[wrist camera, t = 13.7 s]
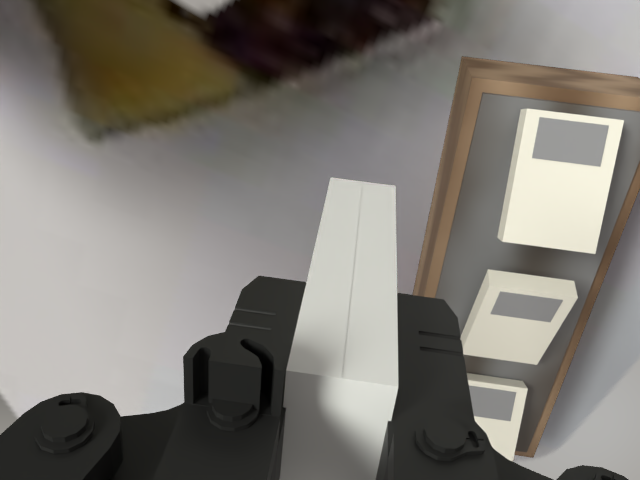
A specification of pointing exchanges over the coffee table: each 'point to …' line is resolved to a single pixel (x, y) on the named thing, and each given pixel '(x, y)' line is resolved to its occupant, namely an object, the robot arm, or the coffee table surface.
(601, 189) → the rocker
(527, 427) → the wooden storage box
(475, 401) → the rocker
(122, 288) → the coffee table surface
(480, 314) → the block
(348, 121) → the coffee table surface
